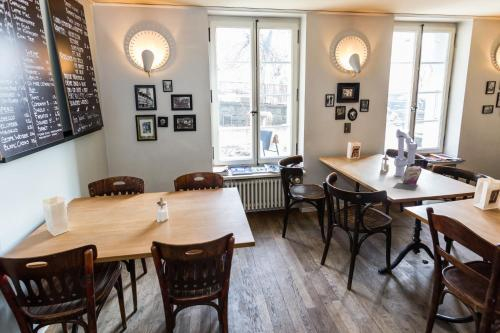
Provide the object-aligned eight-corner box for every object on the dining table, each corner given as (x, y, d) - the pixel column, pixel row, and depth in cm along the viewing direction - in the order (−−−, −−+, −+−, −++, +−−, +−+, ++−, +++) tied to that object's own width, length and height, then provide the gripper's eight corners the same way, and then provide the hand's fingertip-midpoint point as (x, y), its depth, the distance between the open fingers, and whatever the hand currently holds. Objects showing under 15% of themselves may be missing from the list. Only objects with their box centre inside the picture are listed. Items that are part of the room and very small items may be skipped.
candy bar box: (403, 183, 275) (407, 170, 264) (401, 179, 279) (406, 166, 268) (416, 183, 274) (422, 170, 263) (415, 179, 278) (420, 165, 266)
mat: (397, 182, 278) (397, 182, 278) (418, 185, 269) (418, 185, 268) (393, 187, 265) (393, 187, 265) (414, 190, 256) (414, 190, 256)
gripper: (407, 155, 279) (406, 169, 283) (404, 158, 268) (402, 173, 271) (416, 155, 275) (415, 170, 279) (413, 158, 264) (412, 174, 267)
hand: (409, 172), depth 275 cm, fingers closed
